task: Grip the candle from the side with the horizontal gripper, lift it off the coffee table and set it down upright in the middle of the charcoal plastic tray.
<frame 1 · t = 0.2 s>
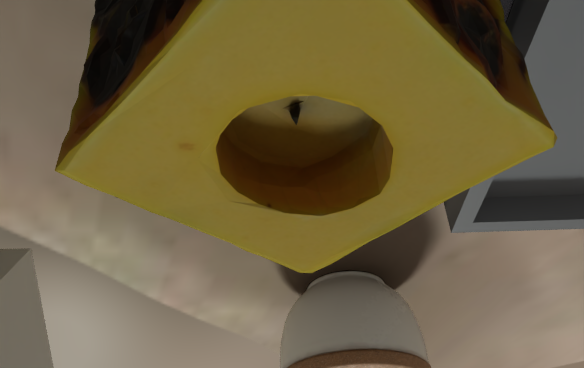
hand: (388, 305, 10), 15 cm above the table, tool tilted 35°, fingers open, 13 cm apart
lidded jar: (345, 286, 43), on the table
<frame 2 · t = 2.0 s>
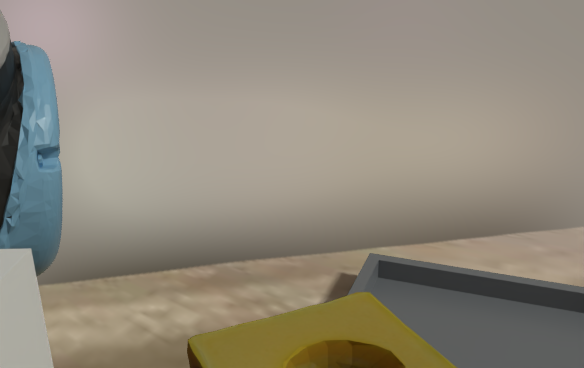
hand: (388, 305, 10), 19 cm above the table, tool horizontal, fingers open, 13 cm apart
tray: (481, 355, 39), on the table
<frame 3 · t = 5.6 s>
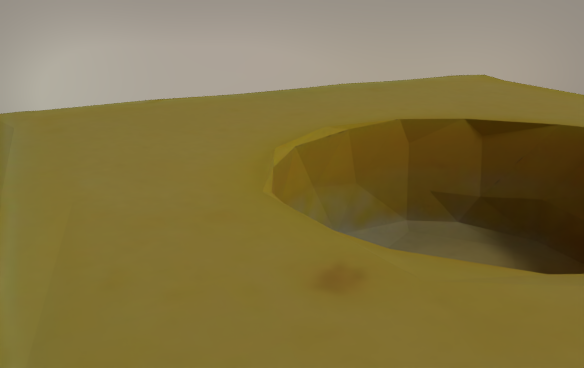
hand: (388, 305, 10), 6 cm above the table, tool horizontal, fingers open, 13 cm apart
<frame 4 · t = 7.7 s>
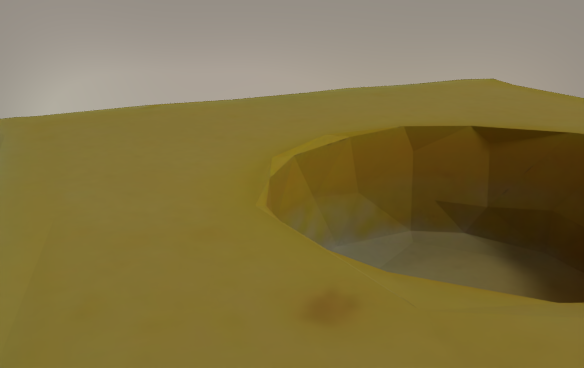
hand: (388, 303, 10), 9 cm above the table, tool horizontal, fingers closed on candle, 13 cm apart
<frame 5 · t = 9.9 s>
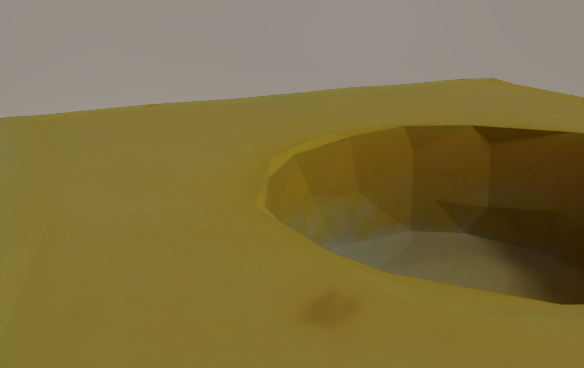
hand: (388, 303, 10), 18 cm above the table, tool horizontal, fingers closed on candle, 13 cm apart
when the fingers open (8 cm above the table, at t = 13.6 s): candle drops 1 cm, resting on tray.
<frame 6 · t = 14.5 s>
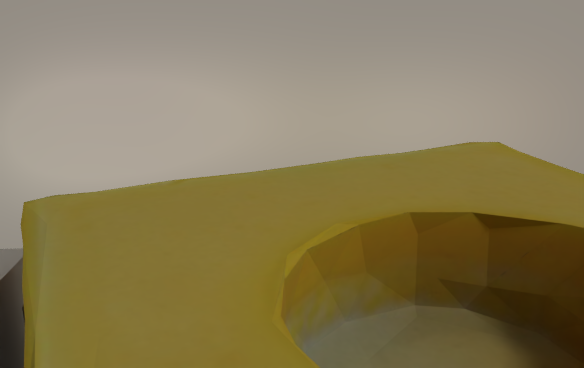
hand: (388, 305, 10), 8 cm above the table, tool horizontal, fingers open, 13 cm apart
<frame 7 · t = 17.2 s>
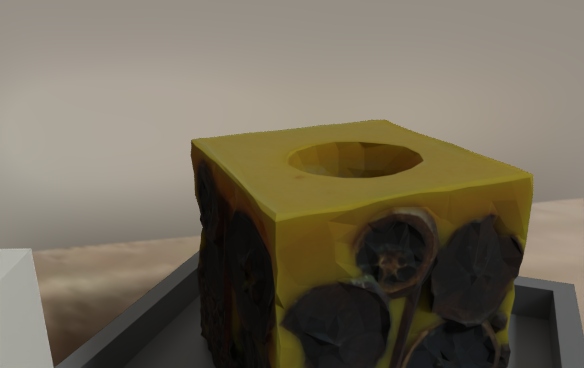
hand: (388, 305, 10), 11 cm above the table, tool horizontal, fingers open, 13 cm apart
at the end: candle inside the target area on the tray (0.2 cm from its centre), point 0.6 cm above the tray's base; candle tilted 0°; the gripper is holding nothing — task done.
